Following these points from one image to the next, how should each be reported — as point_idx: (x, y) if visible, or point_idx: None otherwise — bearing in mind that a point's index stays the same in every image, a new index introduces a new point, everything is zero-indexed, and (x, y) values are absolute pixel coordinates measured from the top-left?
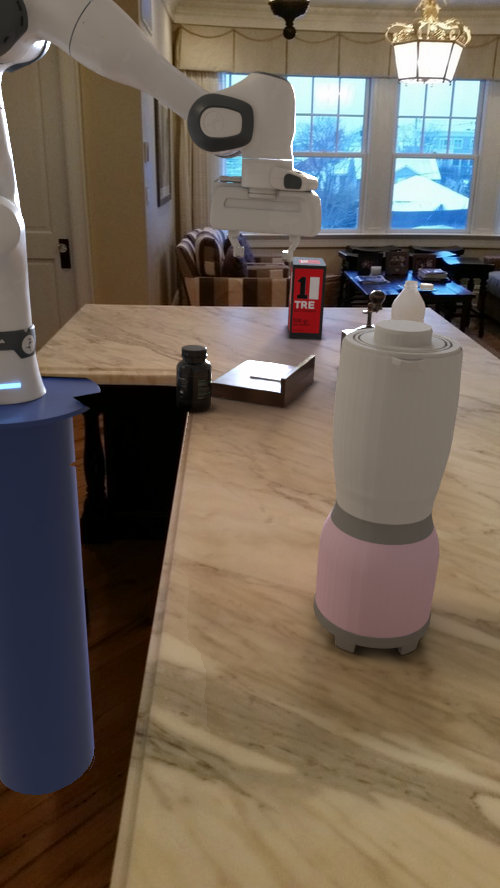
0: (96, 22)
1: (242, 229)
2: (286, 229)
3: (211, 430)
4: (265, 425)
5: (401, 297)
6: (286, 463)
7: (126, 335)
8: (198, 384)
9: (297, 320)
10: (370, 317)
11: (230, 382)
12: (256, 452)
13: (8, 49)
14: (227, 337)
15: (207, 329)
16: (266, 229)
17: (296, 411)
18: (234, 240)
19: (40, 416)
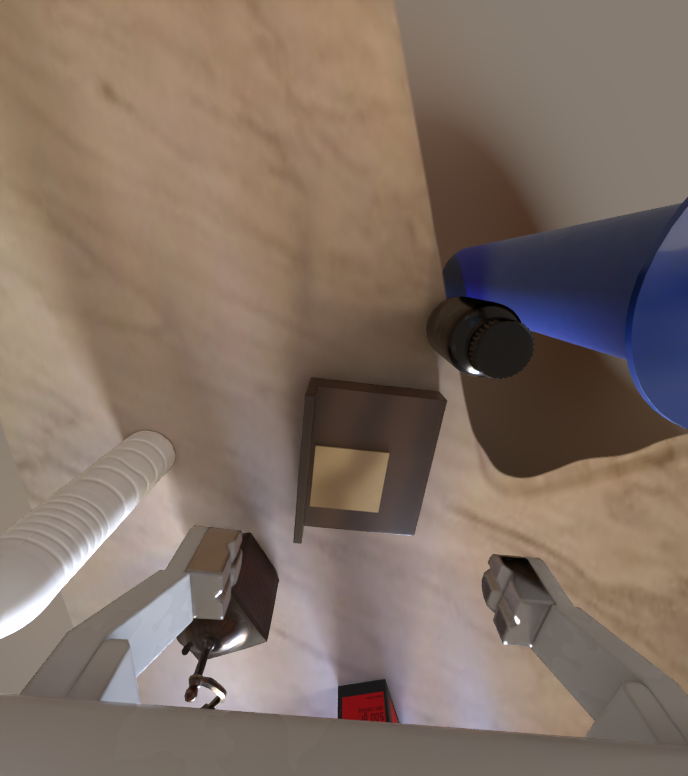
0: None
1: (610, 758)
2: (54, 774)
3: (398, 222)
4: (316, 281)
5: None
6: (231, 100)
7: (639, 626)
8: (458, 306)
9: (377, 717)
10: (198, 663)
11: (413, 410)
12: (295, 137)
13: None
14: (477, 659)
15: (515, 684)
16: (327, 765)
17: (287, 367)
18: (600, 661)
19: None
